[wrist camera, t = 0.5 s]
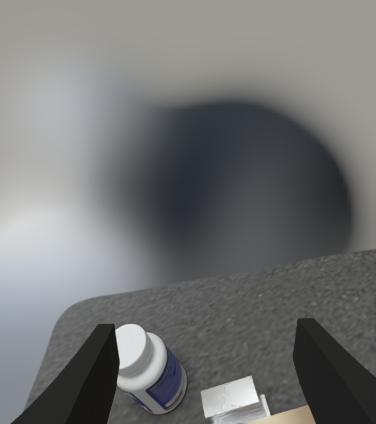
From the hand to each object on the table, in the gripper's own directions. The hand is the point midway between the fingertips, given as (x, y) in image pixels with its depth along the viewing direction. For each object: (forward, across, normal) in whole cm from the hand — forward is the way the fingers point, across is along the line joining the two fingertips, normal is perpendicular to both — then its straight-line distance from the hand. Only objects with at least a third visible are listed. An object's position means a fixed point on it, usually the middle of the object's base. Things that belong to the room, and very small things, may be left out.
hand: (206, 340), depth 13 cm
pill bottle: (+14, +4, +20) cm, 24 cm away
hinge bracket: (+8, -4, +18) cm, 21 cm away
